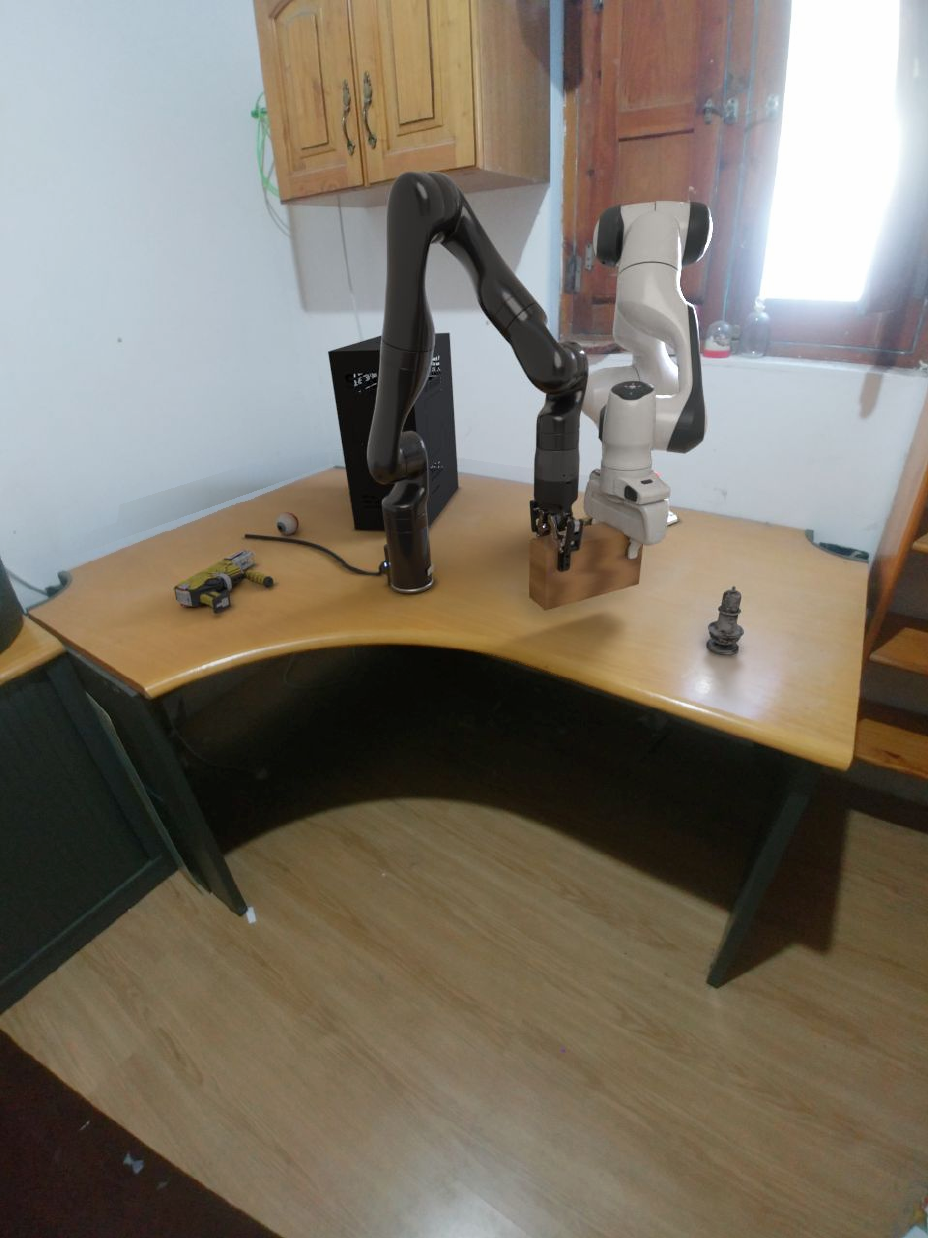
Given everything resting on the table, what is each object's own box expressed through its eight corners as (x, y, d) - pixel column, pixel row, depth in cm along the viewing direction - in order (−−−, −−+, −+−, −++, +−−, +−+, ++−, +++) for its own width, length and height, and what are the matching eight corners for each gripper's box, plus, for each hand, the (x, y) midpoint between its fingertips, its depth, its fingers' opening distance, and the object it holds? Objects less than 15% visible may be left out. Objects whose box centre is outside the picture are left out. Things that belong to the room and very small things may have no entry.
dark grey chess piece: (743, 656, 104) (756, 594, 98) (707, 654, 105) (718, 593, 99) (737, 638, 109) (749, 578, 103) (702, 636, 110) (712, 577, 104)
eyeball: (273, 537, 164) (268, 516, 161) (287, 528, 169) (282, 508, 166) (291, 539, 161) (286, 518, 158) (305, 530, 166) (301, 510, 163)
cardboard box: (425, 532, 161) (409, 348, 139) (354, 529, 166) (327, 351, 143) (458, 487, 193) (449, 332, 170) (398, 486, 197) (382, 335, 175)
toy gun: (294, 557, 143) (240, 546, 147) (227, 600, 123) (168, 586, 127) (295, 575, 145) (243, 564, 149) (230, 620, 125) (172, 606, 129)
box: (619, 572, 122) (625, 516, 116) (638, 584, 117) (645, 526, 111) (528, 597, 115) (529, 539, 109) (545, 610, 110) (546, 550, 104)
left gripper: (516, 466, 106) (516, 554, 114) (560, 487, 94) (557, 583, 103) (552, 459, 108) (550, 545, 117) (600, 479, 97) (594, 574, 105)
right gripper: (577, 468, 115) (574, 536, 122) (647, 498, 99) (639, 574, 106) (604, 463, 117) (600, 529, 124) (677, 491, 101) (668, 566, 108)
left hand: (553, 563), depth 110 cm, fingers closed on box, 6 cm apart
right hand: (618, 550), depth 115 cm, fingers closed on box, 6 cm apart
